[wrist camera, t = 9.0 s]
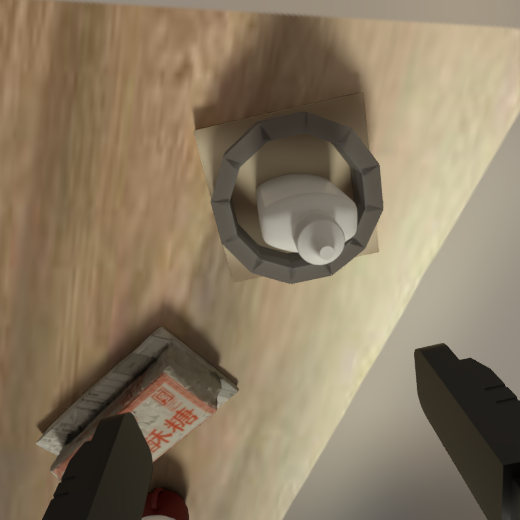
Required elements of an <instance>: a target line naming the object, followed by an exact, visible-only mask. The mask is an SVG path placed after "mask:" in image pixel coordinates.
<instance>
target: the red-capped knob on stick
mask: <svg viewBox="0 0 520 520" xmlns="http://www.w3.org/2000/svg"><path fill="white" fill-rule="evenodd" d="M141 520H189V514H188V508H187V506H186V504H185V501H184V500H183V498H182V497H181V496H179V495H178V494H177V493H175V492H172V491H168V490H164V489H163V488H156V489H155V490H154V492H151V493H148V494H147V498H146V502H145V506H144V511H143V515H142V519H141Z"/></svg>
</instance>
